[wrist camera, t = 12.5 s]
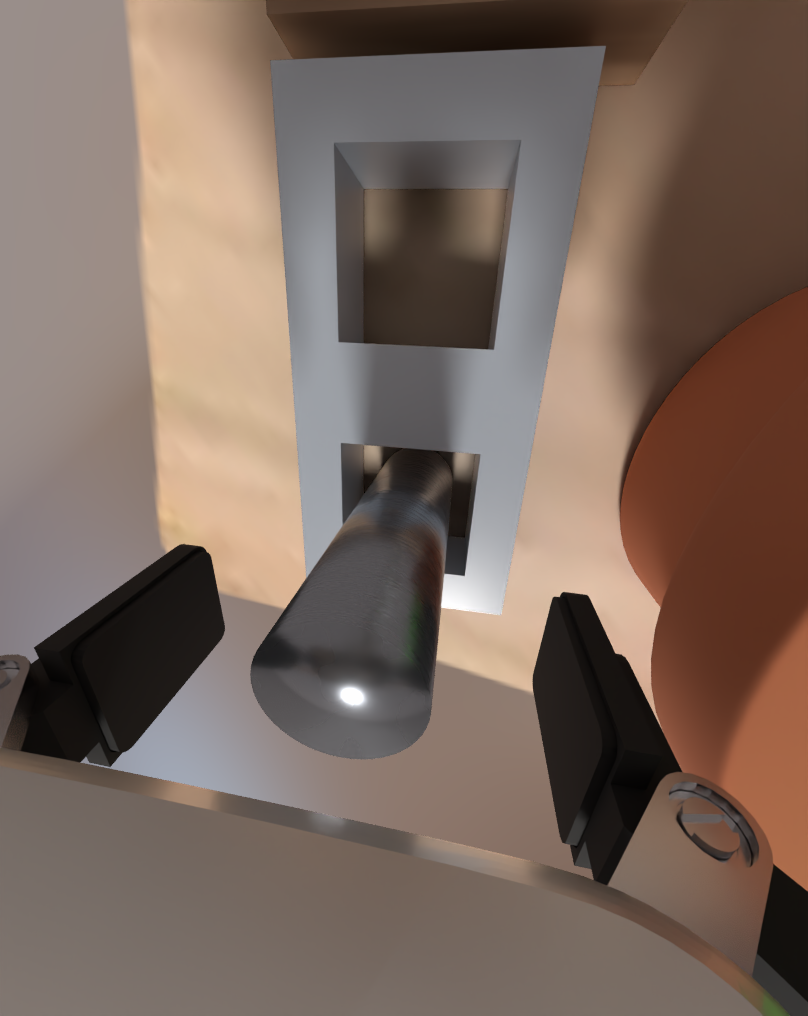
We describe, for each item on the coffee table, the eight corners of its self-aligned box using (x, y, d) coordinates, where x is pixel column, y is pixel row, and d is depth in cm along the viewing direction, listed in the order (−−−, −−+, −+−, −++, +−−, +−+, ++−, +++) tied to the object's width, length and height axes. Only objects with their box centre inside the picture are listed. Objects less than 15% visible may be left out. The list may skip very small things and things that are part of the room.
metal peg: (381, 443, 20) (239, 609, 8) (456, 450, 20) (438, 638, 7) (380, 511, 22) (261, 742, 9) (449, 518, 21) (424, 773, 9)
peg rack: (316, 128, 15) (270, 60, 12) (570, 122, 14) (606, 45, 11) (331, 552, 23) (307, 589, 20) (495, 571, 22) (501, 615, 19)
